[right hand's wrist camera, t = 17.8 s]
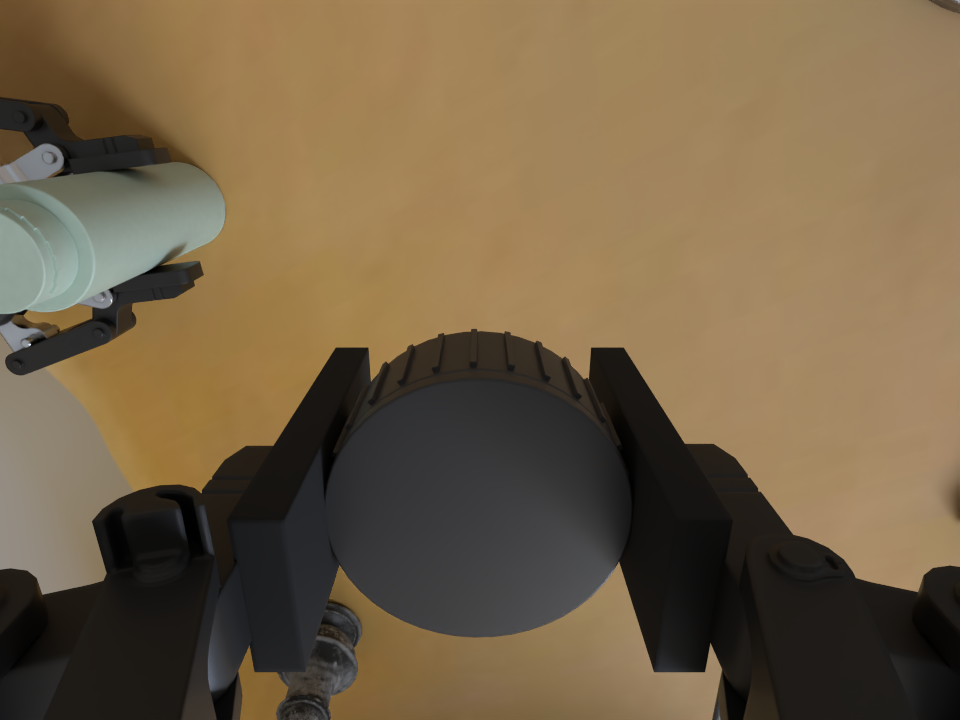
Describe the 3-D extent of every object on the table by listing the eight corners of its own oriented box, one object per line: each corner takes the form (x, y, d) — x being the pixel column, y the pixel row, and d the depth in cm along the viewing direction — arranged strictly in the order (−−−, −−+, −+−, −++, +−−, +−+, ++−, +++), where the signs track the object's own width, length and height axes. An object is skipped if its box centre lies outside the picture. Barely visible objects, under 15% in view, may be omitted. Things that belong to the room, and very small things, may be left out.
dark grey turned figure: (297, 660, 48) (246, 823, 37) (281, 603, 46) (222, 757, 35) (371, 654, 48) (341, 815, 37) (358, 596, 46) (323, 748, 35)
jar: (240, 193, 35) (82, 243, 21) (204, 262, 37) (33, 353, 22) (161, 144, 34) (-64, 158, 20) (127, 217, 36) (-106, 281, 21)
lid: (294, 403, 12) (253, 464, 10) (537, 276, 11) (552, 313, 9) (430, 592, 14) (421, 679, 12) (651, 496, 13) (685, 571, 11)
